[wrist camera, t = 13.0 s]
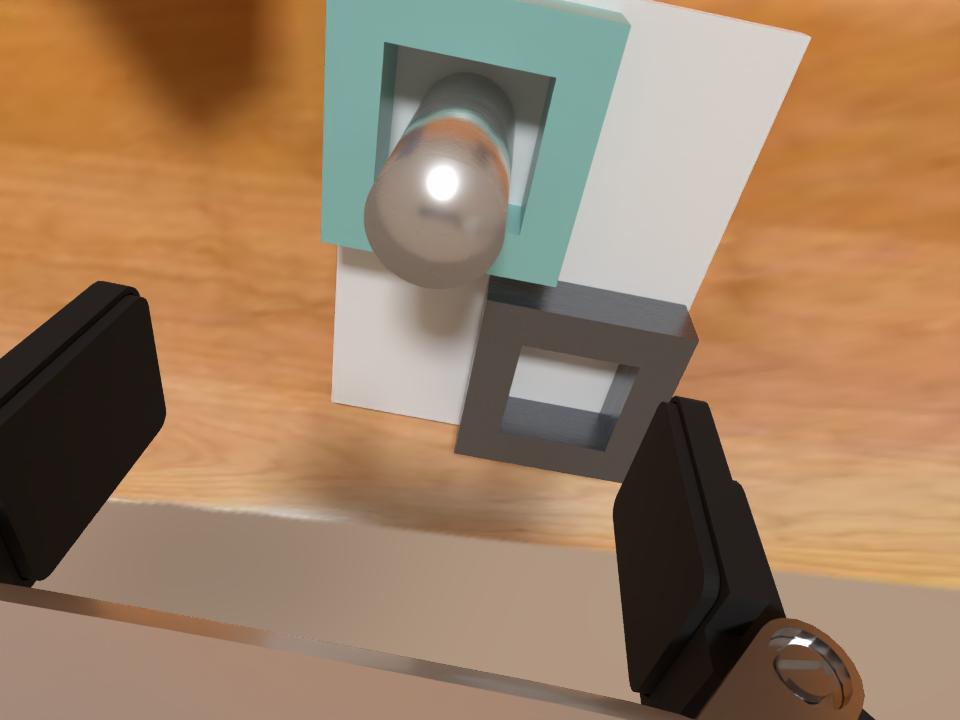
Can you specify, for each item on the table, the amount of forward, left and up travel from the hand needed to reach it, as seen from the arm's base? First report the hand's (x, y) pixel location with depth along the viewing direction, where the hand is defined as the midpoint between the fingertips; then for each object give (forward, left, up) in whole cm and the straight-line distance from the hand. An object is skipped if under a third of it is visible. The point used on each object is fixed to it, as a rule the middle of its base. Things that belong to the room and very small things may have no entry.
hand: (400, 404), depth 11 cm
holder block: (-7, +11, -18) cm, 22 cm away
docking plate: (-3, +5, -19) cm, 20 cm away
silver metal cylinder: (0, 0, -18) cm, 18 cm away
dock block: (0, 0, -18) cm, 18 cm away
